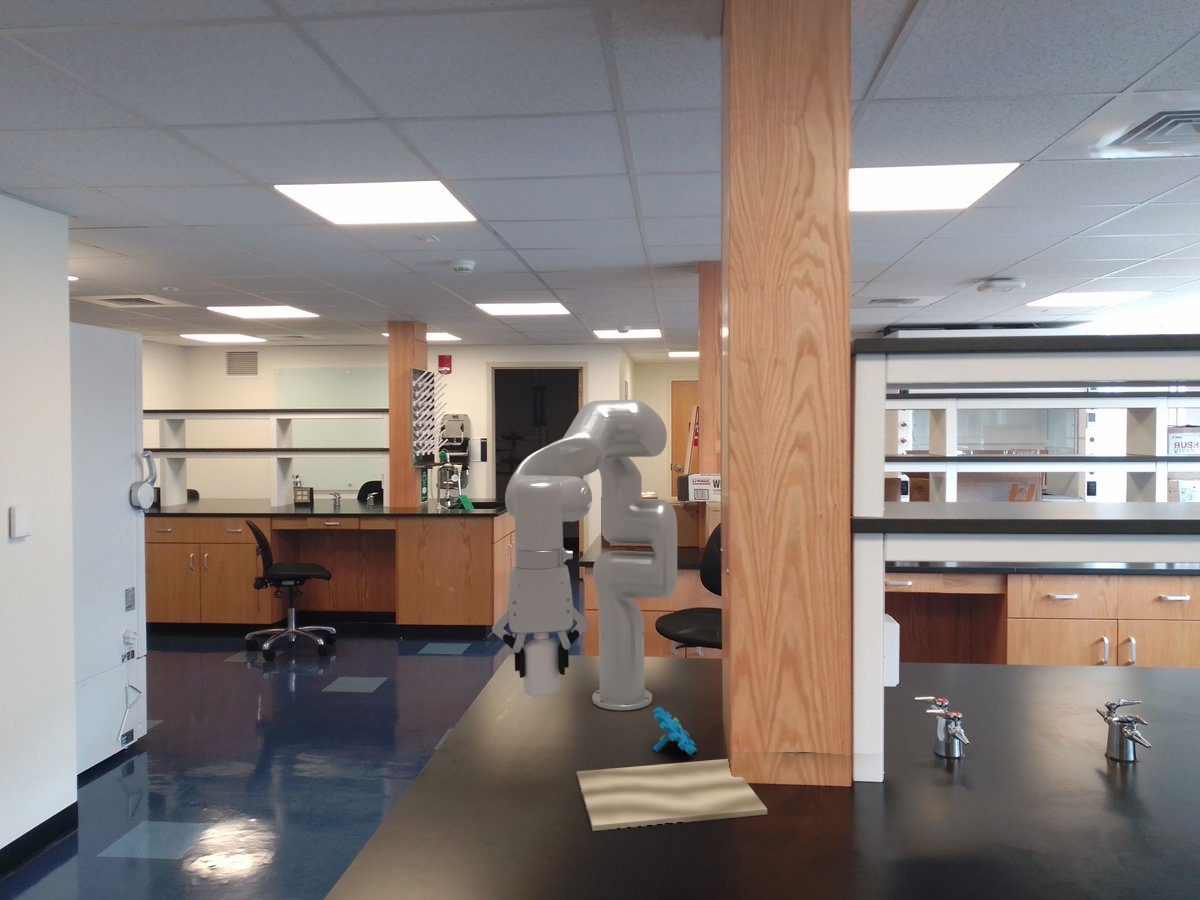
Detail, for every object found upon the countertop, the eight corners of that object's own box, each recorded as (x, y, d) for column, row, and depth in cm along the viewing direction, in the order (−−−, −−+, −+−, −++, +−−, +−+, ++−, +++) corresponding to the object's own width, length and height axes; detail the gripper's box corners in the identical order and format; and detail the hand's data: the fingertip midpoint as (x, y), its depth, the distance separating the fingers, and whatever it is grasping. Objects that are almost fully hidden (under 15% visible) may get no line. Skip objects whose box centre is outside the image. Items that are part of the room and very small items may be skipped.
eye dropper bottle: (523, 688, 125) (522, 613, 124) (559, 686, 125) (557, 612, 125) (524, 697, 120) (523, 620, 120) (561, 695, 121) (559, 618, 121)
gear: (697, 756, 132) (655, 710, 135) (672, 780, 133) (631, 734, 135) (701, 739, 143) (662, 698, 145) (678, 762, 144) (640, 720, 146)
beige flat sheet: (576, 776, 129) (576, 771, 129) (728, 763, 133) (728, 758, 133) (592, 831, 111) (592, 825, 111) (767, 814, 115) (767, 809, 115)
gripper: (590, 553, 127) (592, 663, 128) (483, 557, 125) (486, 670, 125) (597, 560, 120) (599, 677, 121) (484, 566, 117) (486, 685, 118)
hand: (541, 672), depth 123 cm, fingers closed on eye dropper bottle, 5 cm apart
